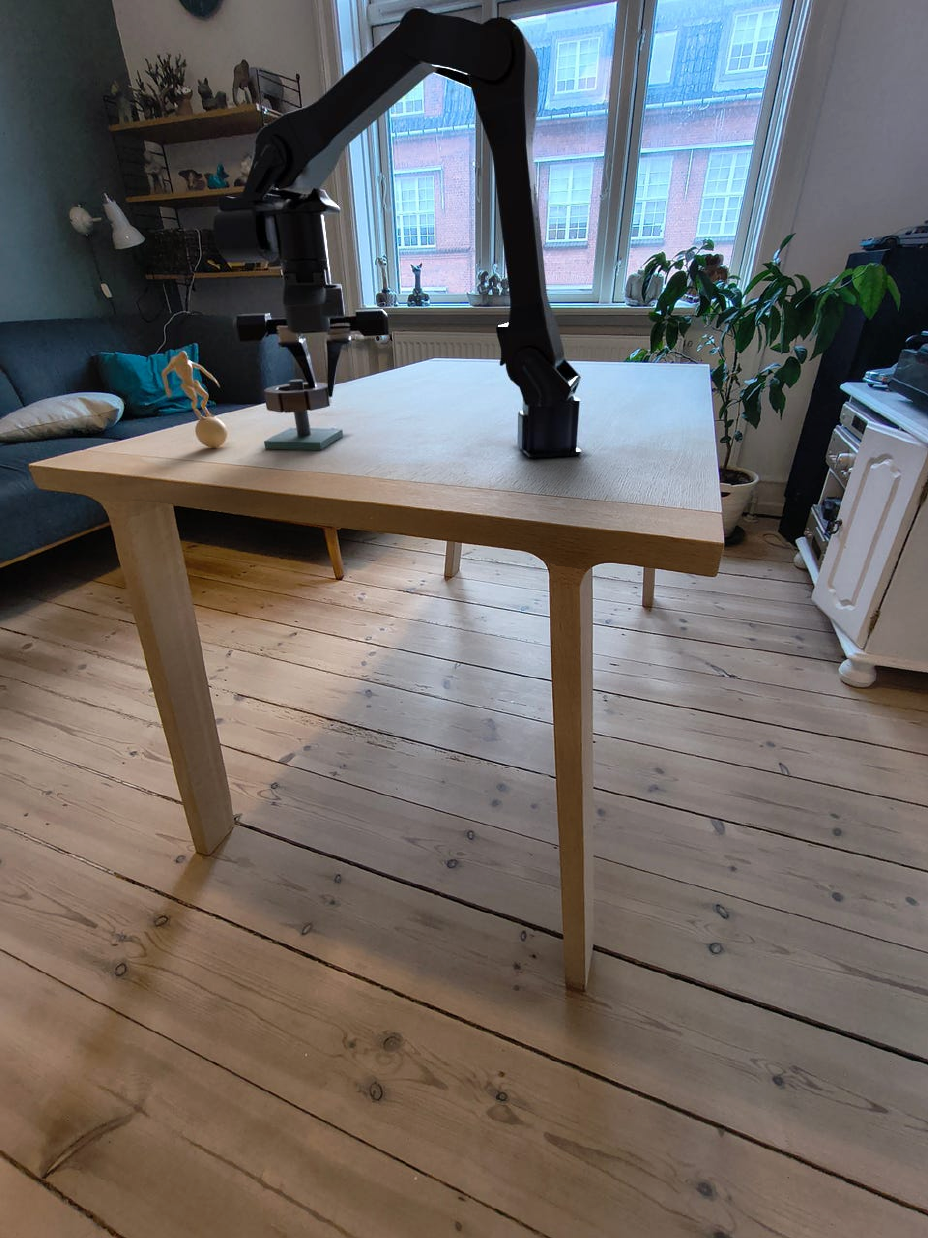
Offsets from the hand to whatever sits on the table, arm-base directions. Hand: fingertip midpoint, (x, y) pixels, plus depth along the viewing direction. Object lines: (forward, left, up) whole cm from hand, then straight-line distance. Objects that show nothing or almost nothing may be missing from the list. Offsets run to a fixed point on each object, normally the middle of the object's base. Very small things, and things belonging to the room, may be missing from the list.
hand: (323, 396), depth 79 cm
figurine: (+16, -1, -6) cm, 17 cm away
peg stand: (+3, 0, -6) cm, 7 cm away
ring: (+3, 0, -1) cm, 3 cm away
